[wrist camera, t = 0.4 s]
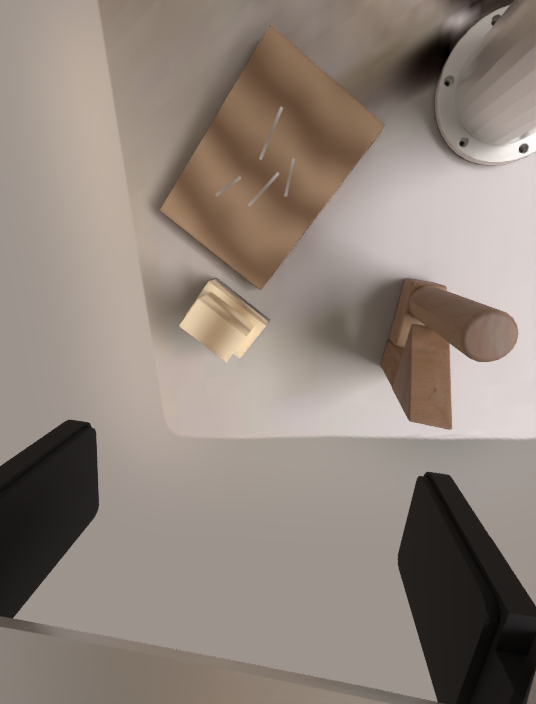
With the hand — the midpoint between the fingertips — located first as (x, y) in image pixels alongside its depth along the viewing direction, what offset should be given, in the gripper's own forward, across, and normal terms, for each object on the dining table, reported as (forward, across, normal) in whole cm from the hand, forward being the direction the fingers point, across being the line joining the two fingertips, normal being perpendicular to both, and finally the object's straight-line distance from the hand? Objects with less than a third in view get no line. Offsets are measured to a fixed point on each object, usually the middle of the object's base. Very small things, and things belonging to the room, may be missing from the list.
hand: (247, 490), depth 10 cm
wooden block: (+33, -13, 0) cm, 36 cm away
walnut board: (+33, +4, -14) cm, 36 cm away
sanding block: (+34, +7, +1) cm, 35 cm away
